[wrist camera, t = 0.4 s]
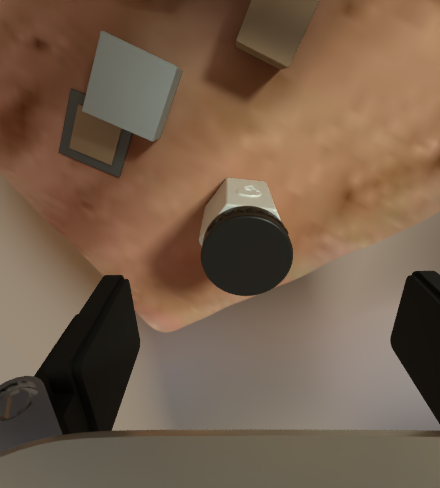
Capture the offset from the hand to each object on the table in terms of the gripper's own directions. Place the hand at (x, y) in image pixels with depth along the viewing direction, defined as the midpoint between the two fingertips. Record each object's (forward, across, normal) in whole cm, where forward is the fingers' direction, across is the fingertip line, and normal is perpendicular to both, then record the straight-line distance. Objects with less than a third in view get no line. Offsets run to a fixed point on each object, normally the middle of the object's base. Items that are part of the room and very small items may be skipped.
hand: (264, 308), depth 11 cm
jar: (+28, 0, +7) cm, 29 cm away
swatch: (+28, +16, -3) cm, 32 cm away
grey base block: (+27, +10, -7) cm, 30 cm away
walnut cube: (+28, -3, -12) cm, 30 cm away
